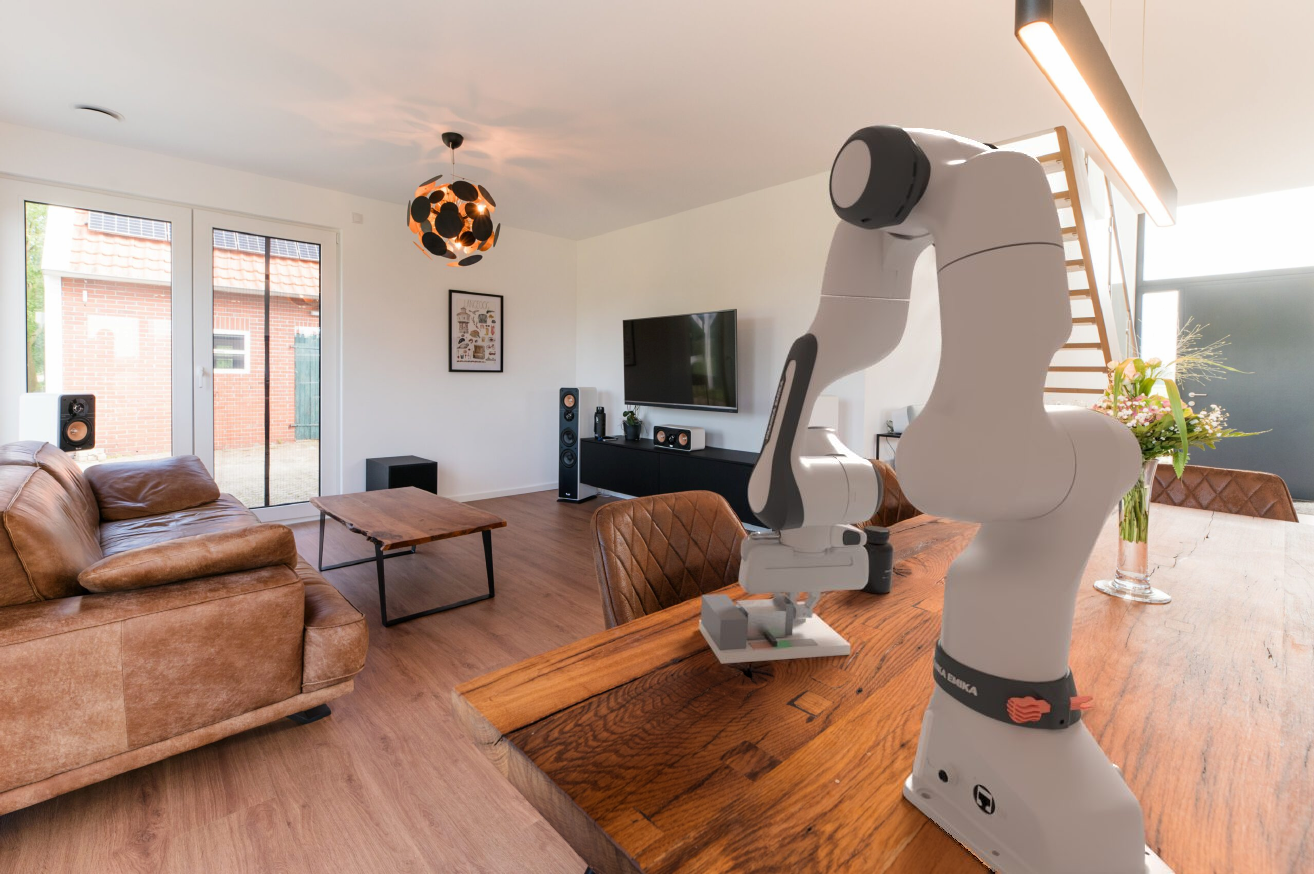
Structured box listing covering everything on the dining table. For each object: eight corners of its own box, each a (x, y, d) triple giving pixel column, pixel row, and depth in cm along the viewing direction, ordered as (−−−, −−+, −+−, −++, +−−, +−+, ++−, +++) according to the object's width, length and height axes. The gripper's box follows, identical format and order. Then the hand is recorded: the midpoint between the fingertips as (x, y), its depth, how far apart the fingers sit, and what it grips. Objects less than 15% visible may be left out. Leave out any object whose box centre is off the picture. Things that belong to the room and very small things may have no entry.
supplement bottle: (893, 596, 118) (898, 534, 116) (856, 592, 119) (860, 531, 118) (888, 584, 124) (892, 525, 123) (852, 581, 126) (856, 523, 124)
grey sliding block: (801, 646, 91) (803, 612, 90) (755, 649, 89) (756, 615, 89) (779, 622, 99) (780, 591, 98) (736, 625, 98) (737, 593, 97)
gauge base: (850, 654, 92) (852, 615, 92) (721, 663, 88) (722, 622, 88) (814, 622, 104) (816, 587, 103) (699, 628, 100) (700, 592, 99)
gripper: (748, 537, 90) (744, 629, 92) (876, 534, 94) (870, 621, 96) (734, 527, 96) (731, 612, 98) (855, 524, 100) (850, 606, 102)
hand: (801, 617), depth 97 cm, fingers closed
